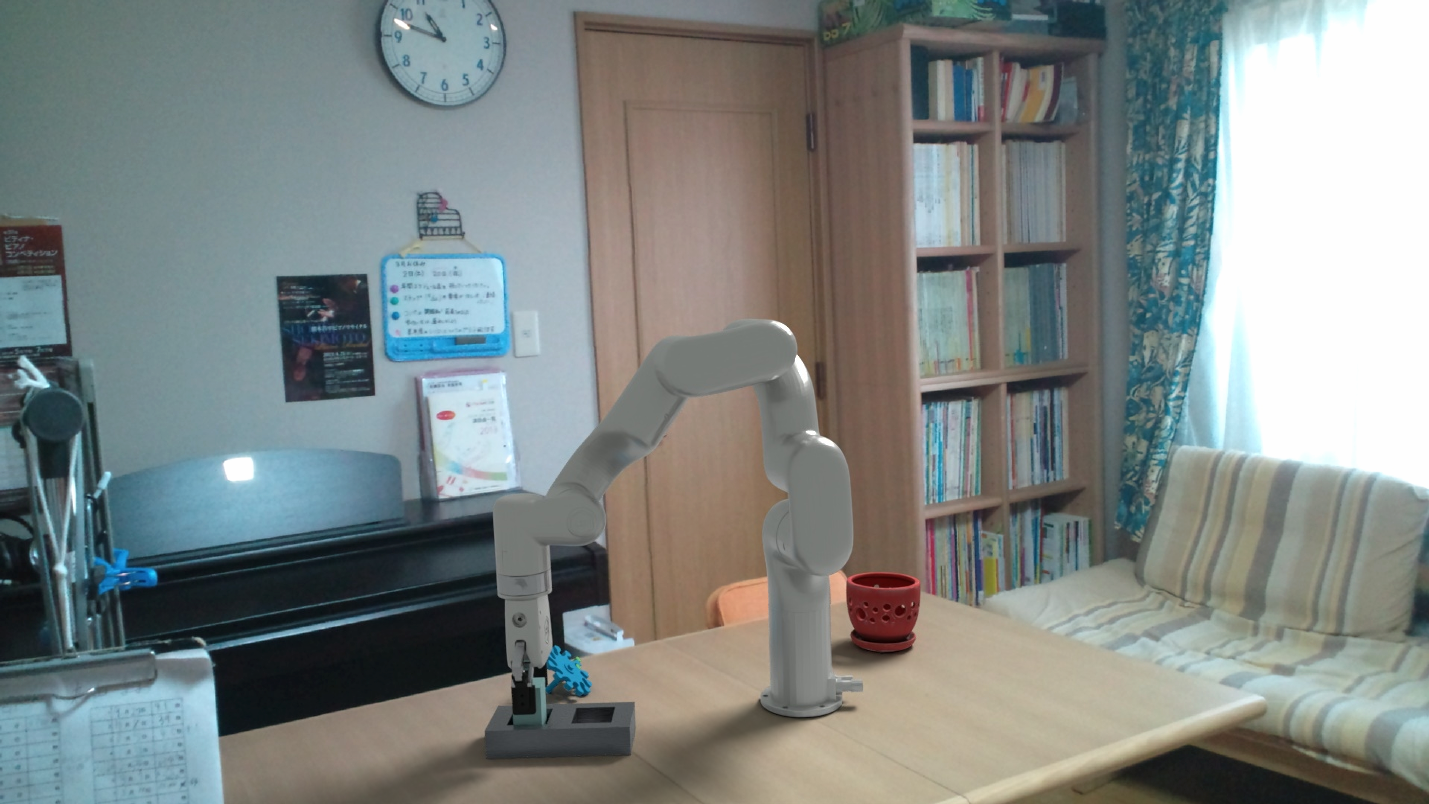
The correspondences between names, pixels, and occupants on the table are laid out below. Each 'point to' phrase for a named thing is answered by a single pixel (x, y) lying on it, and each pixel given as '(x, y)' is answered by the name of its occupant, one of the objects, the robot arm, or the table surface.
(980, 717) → the table surface
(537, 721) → the peg
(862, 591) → the plant pot
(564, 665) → the gear
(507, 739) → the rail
